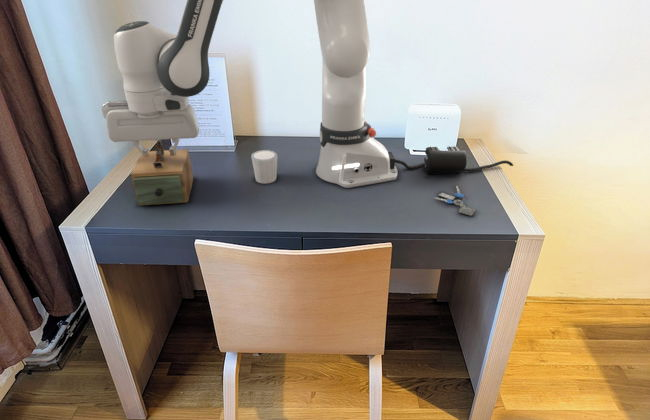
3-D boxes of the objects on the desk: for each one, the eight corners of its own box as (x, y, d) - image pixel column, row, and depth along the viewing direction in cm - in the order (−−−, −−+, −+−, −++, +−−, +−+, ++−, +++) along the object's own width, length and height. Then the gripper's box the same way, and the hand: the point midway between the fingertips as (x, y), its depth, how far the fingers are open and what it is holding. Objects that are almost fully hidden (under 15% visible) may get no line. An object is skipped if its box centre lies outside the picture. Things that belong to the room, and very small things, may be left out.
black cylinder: (428, 178, 117) (431, 155, 113) (421, 167, 123) (424, 145, 119) (464, 177, 117) (468, 155, 114) (455, 166, 123) (460, 144, 120)
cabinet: (188, 202, 106) (182, 171, 101) (138, 205, 104) (130, 174, 100) (193, 178, 116) (188, 149, 112) (148, 181, 115) (141, 151, 110)
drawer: (183, 204, 103) (178, 179, 99) (138, 207, 102) (131, 182, 98) (189, 179, 114) (185, 156, 110) (148, 182, 112) (143, 158, 109)
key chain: (478, 216, 101) (479, 213, 100) (444, 218, 100) (445, 215, 100) (457, 187, 112) (458, 184, 112) (426, 188, 112) (427, 186, 111)
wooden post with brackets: (166, 149, 109) (162, 137, 105) (165, 174, 105) (160, 162, 101) (159, 150, 109) (154, 137, 105) (157, 174, 104) (152, 162, 101)
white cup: (248, 182, 115) (246, 158, 111) (260, 171, 120) (258, 148, 116) (271, 186, 113) (270, 162, 109) (282, 175, 118) (281, 151, 114)
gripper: (95, 106, 93) (111, 163, 101) (191, 102, 96) (201, 158, 103) (103, 97, 99) (118, 152, 106) (194, 93, 101) (203, 147, 109)
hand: (159, 155), depth 105 cm, fingers open, 5 cm apart
